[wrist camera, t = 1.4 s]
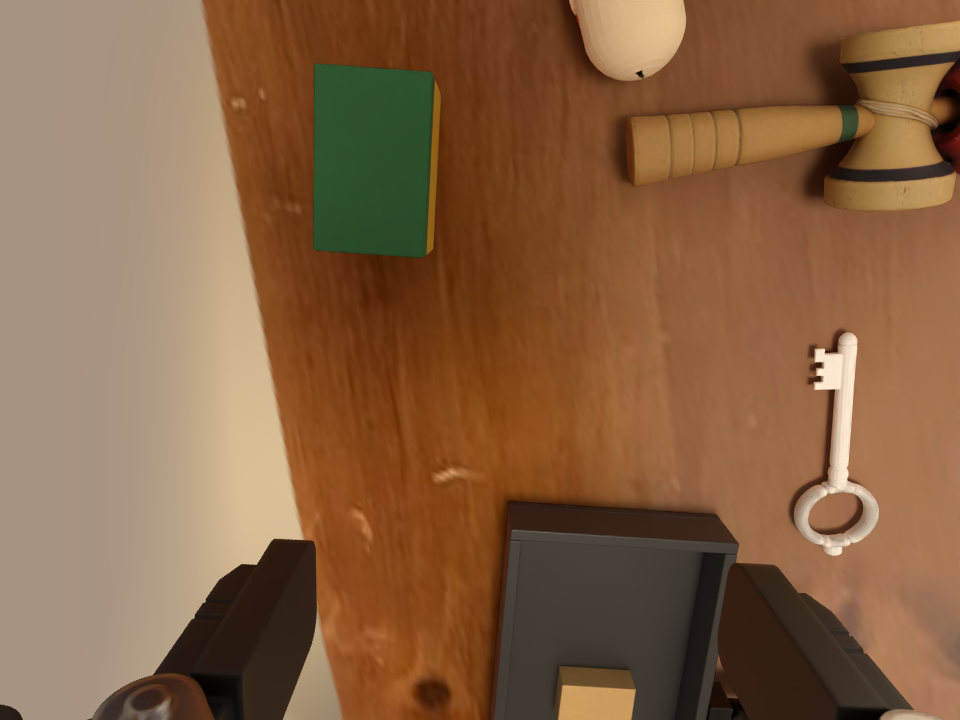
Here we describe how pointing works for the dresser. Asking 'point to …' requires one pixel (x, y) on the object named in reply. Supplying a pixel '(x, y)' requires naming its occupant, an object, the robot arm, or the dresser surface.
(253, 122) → the dresser surface
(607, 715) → the tan wooden block
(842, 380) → the key
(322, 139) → the sponge
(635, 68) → the toy figurine
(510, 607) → the pan
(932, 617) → the dresser surface
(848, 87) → the dresser surface
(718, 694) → the pan handle
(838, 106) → the kendama
